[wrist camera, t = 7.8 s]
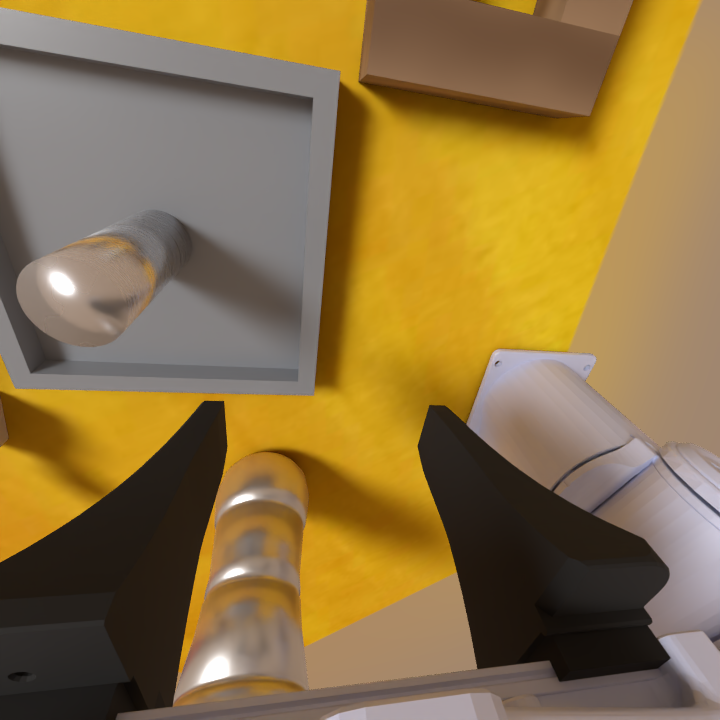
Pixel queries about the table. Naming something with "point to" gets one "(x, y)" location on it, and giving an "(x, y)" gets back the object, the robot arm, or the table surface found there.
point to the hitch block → (494, 51)
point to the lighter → (2, 427)
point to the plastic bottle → (252, 588)
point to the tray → (168, 202)
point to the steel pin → (104, 278)
